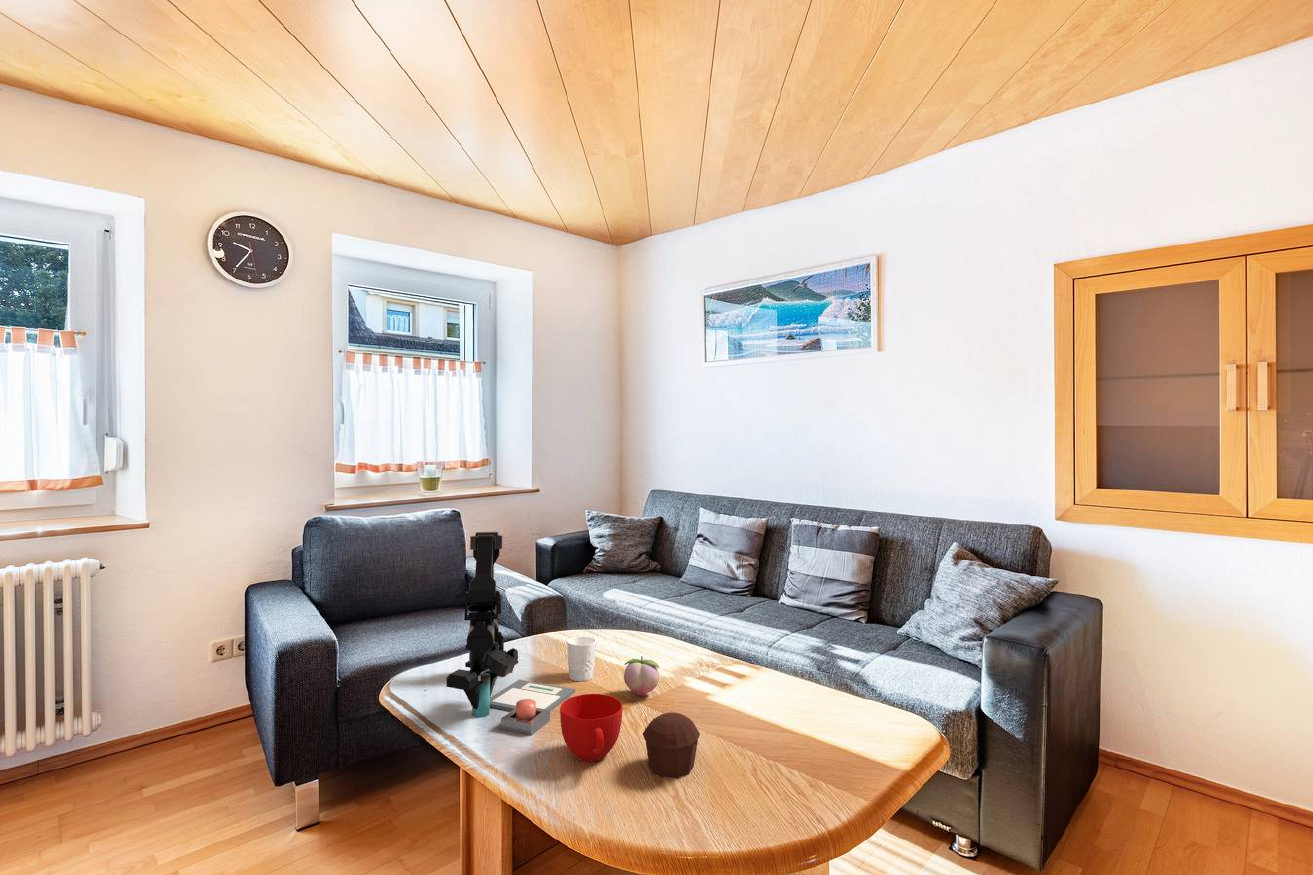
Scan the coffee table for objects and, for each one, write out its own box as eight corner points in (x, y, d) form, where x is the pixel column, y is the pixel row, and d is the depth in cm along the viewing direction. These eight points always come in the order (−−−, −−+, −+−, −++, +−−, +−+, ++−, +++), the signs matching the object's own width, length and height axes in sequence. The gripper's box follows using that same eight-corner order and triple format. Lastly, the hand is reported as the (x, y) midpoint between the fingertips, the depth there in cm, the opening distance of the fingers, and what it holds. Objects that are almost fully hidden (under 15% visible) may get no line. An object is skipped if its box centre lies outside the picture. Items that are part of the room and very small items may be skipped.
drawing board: (482, 705, 155) (482, 700, 155) (518, 682, 170) (519, 678, 170) (542, 716, 149) (542, 712, 149) (575, 692, 164) (575, 687, 164)
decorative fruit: (661, 689, 166) (661, 651, 166) (658, 702, 158) (658, 662, 158) (625, 687, 167) (626, 649, 167) (621, 700, 159) (621, 660, 159)
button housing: (500, 729, 142) (500, 718, 142) (520, 714, 150) (520, 704, 150) (531, 735, 140) (531, 724, 140) (550, 720, 147) (550, 710, 147)
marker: (468, 715, 149) (468, 677, 149) (479, 709, 153) (479, 671, 153) (482, 718, 148) (483, 680, 148) (493, 711, 151) (493, 674, 151)
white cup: (593, 682, 170) (594, 645, 170) (564, 682, 170) (565, 644, 171) (597, 671, 178) (597, 636, 178) (569, 671, 178) (569, 635, 178)
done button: (512, 720, 143) (512, 705, 143) (522, 713, 148) (523, 697, 148) (528, 724, 142) (529, 708, 142) (539, 716, 146) (539, 700, 146)
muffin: (667, 747, 135) (668, 700, 135) (710, 764, 128) (711, 714, 128) (630, 769, 126) (631, 718, 126) (674, 788, 119) (675, 735, 119)
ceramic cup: (566, 784, 120) (566, 731, 120) (556, 743, 136) (556, 696, 136) (632, 775, 123) (633, 724, 123) (615, 736, 140) (615, 690, 140)
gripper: (486, 656, 139) (485, 727, 139) (532, 632, 156) (531, 695, 156) (445, 649, 143) (444, 719, 143) (494, 627, 160) (493, 689, 160)
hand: (481, 705), depth 150 cm, fingers closed on marker, 4 cm apart
